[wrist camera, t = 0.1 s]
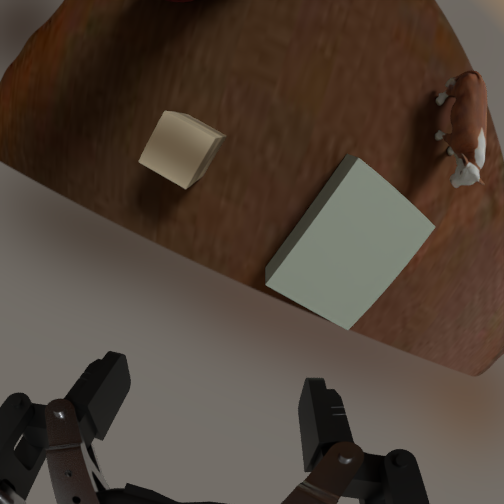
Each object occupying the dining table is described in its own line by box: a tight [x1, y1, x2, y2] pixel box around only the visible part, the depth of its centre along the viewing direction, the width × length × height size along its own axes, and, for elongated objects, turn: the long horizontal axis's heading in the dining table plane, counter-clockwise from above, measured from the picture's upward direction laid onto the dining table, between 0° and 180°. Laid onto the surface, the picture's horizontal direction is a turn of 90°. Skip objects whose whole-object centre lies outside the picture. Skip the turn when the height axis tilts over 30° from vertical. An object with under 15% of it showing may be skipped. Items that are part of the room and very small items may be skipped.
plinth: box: [265, 154, 435, 330], centre depth 30 cm, size 16×12×4 cm
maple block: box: [139, 111, 227, 189], centre depth 25 cm, size 5×5×7 cm
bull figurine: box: [435, 71, 487, 188], centre depth 22 cm, size 4×13×8 cm, turn 172°
